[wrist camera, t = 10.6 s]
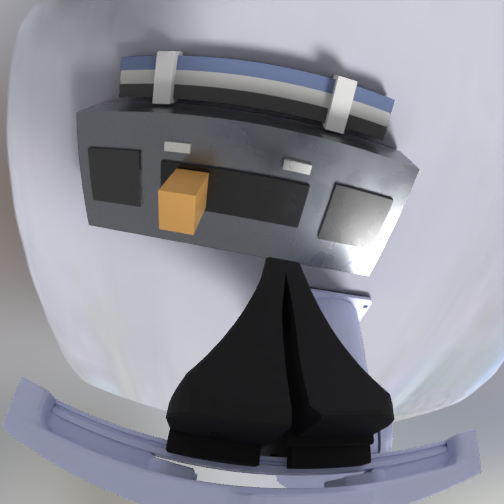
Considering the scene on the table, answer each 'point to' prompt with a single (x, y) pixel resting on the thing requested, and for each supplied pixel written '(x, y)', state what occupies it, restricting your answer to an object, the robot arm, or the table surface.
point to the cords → (257, 89)
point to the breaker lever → (182, 201)
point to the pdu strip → (245, 181)
